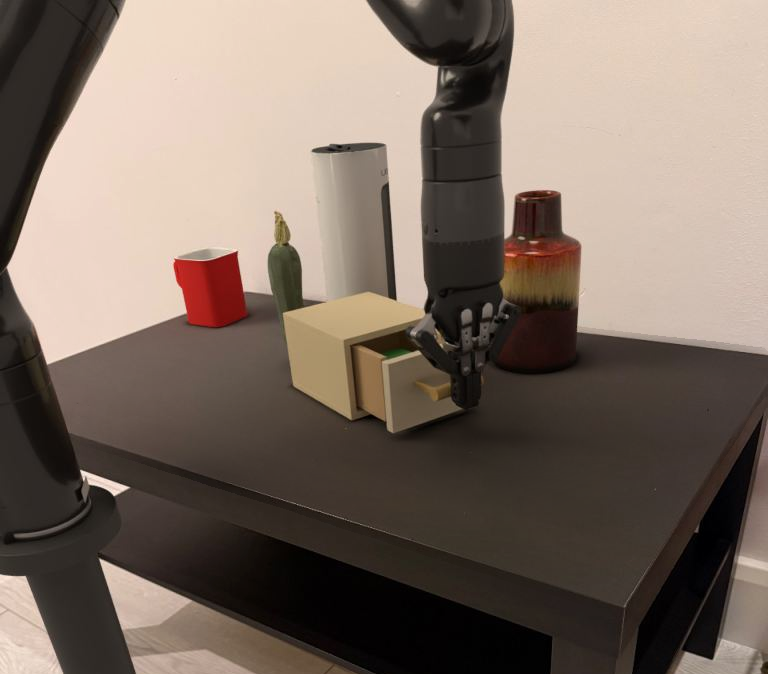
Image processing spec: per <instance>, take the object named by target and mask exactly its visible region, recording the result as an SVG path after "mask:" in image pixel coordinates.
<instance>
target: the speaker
mask: <svg viewBox="0 0 768 674" xmlns="http://www.w3.org/2000/svg"><path fill="white" fill-rule="evenodd" d="M387 148H388V147H387V144H386V143H384V142H366V141H365V142H351V143H340V144H339V143H330V144H328V145H326V146H319V147H315V148H312V149H311V150H310V157H311V165H312V175H313V176H312V177H313V182H314V193H315V203H316V210H317V212H316V213H317V220H318V230H319V239H320V249H321V256H322V257H321V258H322V266H323V275H324V283H325V293H326V302H329V301H333V300H337V299H341V298H345V297H349V296H353V295H357V294H361V293H365V292H372V293H375V294H378V295H381V296H383V297H386V298H389V299H392V300H395V301H398V299H397V298H398V297H397V295H398V294H397V283H396V265H395V254H394V253H395V251H394V237H393V224H392V221H393V220H392V209H391V208H392V207H391V195H390V193H391V192H390V180H389V166H388V150H387Z"/></svg>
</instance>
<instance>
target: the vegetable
mask: <svg viewBox="0 0 768 674" xmlns="http://www.w3.org/2000/svg"><path fill="white" fill-rule="evenodd" d="M273 212H274V213H273V214H274V215H275V216H274V230H273V236H274V241H275V244H273V246H271V248H270V250H269V252H268V254H267V273H268V279H269V284H270V290H271V294H272V296H273V299H274V302H275V306H276V310H277V314H278V318H279V322H280V328H281V333H282V336H283V340H284V343H285V345H286V348H287V349H288V346H287V339H286V332H285V325H284V318H283V313H285V312H289V311H293V310H297V309H301V308H305V305H304V301H303V298H304V297H303V268H302V267H303V266H302V261H301V257H300V254H299V252H298V250H297V249H296V248H295V247H294V246H293V245H291V244H290V240H291V237H292V236H291V231H290V228H289V225H288V224H287V221H286V220H285V219H284V217H283V214H282V213H281V212H279V211H277V210H274V211H273Z"/></svg>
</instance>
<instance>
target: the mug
mask: <svg viewBox="0 0 768 674" xmlns="http://www.w3.org/2000/svg"><path fill="white" fill-rule="evenodd" d="M173 260H174V261H173V264H172V266H173V267H172V268H173V272H174V276H175V281H176V283H177V285H178V286H179V288H180V289H181V291H182V297H183V301H184V306H185V310H186V316H187V320H188V323H189V325H193V326H194V325H195V326H200V327H206V328H207V327H208V328H222V327H226V326H228V325H231V324H232V323H235V322H237V321H240V320H242V319H244V318H246V317H248V310H247V304H246V298H245V291H244V287H243V280H242V273H241V269H240V263H239V249H238V248H230V247H215V246H207V247H200V248H197V249H193V250H191V251H188V252H184V253H181V254H178V255H175V256H174V257H173Z"/></svg>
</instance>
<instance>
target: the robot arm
mask: <svg viewBox="0 0 768 674" xmlns="http://www.w3.org/2000/svg"><path fill="white" fill-rule="evenodd" d="M126 1H127V0H0V537H1V540H2V542H3V544H4V545H7V544H10V543H13V542H19V541H21V542H23V541H35V540H41V539H45V538H49V537H52V536H56V535H58V534H61V533H63V532H66V531H68V530H70V529H72V528H74V527H75V526H77V525H78V524H80V523H81V522H82V521H84V520H85V519H86V518H87V517H88V515H89V514H90V512H91V510H92V503H91V500H90V496H89V495H88V491H89V485H90V484H89V480H88V477H87V476H85V477H84V478H83V475H82V472H81V469H80V464H79V462H78V461H79V460H78V458H77V456H76V452H75V448H74V445H73V443H72V439H71V436H70V434H69V429H68V426H67V423H66V420H65V417H64V413H63V411H62V408H61V407H62V406H61V404H60V402H59V398H58V395H57V392H56V388H55V385H54V382H53V379H52V375H51V372H50V369H49V366H48V363H47V359H46V356H45V354H44V351H43V348H42V347H43V346H42V344H41V341H40V338H39V335H38V332H37V328H36V326H35V323H34V321H33V320H32V318H31V317H30V315H29V313H28V312H27V310H26V309H25V307H24V305H23V303H22V302H21V300H20V298H19V295H18V293H17V291H16V289H15V286H14V284H13V282H12V278H11V275H10V271H9V269H8V266H9V264H10V262H11V261H12V259H13V256H14V254H15V251H16V248H17V246H18V242H19V239H20V237H21V234H22V231H23V228H24V225H25V222H26V218H27V216H28V212H29V209H30V206H31V203H32V201H33V199H34V195H35V192H36V189H37V186H38V183H39V181H40V177H41V174H42V173H43V169H44V167H45V165H46V163H47V160H48V158H49V155H50V153H51V151H52V149H53V147H54V145H55V144H56V141H57V140H58V139H59V136H60V134H61V133H62V131H63V129H64V127H65V125H66V124H67V122H68V120H69V118H70V117H71V115H72V113H73V111H74V109H75V108H76V105H77V103H78V102H79V99H80V98H81V96H82V93H83V92H84V89H85V88H86V85H87V84H88V81H89V79H90V78H91V76H92V74H93V72H94V70H95V69H96V66H97V64H98V63H99V61H100V59H101V58H102V55H103V53H104V51H105V49H106V46H107V45H108V43H109V40H110V38H111V37H112V34H113V32H114V30H115V28H116V26H117V23H118V21H119V19H120V17H121V15H122V12H123V10H124V8H125V4H126ZM365 2H366V4H367V5H368V6H369V8H370V9H371V11H372V12H373V14H374V15H375V16H376V17H377V19H378V20H379V21H380V23H382V25H383V26H384V27H385V28H386V30H387V31H388V32H389V33H390V35H391V36H392V37H393V38H394V39H395V40H396V41H397V43H398V44H399V45H400V46H401V47H403V48H404V49H405V50H406V51H407V52H408V53H410V54H411V55H412V56H413V57H415V58H416V59H418V60H419V61H421V62H423V63H425V64H427V65H428V66H429V65H430V66H433V67H436V68H437V73H436V84H435V85H436V86H435V94H434V98H433V101H432V102H431V103H430V104H429V105H427V107H426V108H425V109H424V111H423V113H422V115H421V118H420V128H419V129H420V131H419V140H420V141H419V143H420V146H419V147H420V165H421V166H420V167H421V168H420V169H421V178H422V179H421V192H420V193H421V194H420V225H421V226H420V227H421V246H422V249H421V250H422V264H423V281H424V284H425V286H426V290H427V296H426V299H427V300H426V299H425V301H426V303H425V302H424V304H425V306H424V305H423V310H424V311H425V316H424V317H423V318H422V319H421V321H420V322H419V323H418V325H417V326H416V327H414V326H409V327H408V328H407V329H406V332H405V334H406V337H407V338H408V339H409V340H410V341H411V342H412V343H413V345H414V346H415V347H416V348H417V349H418V350H419V351H420V352H421V354H422V355H423V356H424V357H425V358H426V359H427V360H428V361H429V363H430V364H431V365H432V366H433V367H434V368H436V369H438V370H441V371H443V372H445V373H448V374H450V381H451V399H452V401H453V402H454V403H455V404H456V406H458V407H460V408H462V409H461V410H464V411H467V410H470V409H473V408H476V407H478V406H479V402H480V400H481V397H482V386H481V375H482V371H483V370H484V369H485V367H486V364H488V363H489V362H493V361H495V360H496V359H497V358H498V356H499V354H500V352H501V350H502V349H503V347H504V345H505V343H506V341H507V339H508V337H509V335H510V333H511V331H512V329H513V328H514V326H515V324H516V322H517V320H518V318H519V316H520V314H521V307H520V306H517V305H515V304H512V303H509V302H508V301H507V300H505V299H504V298H503V290H502V288H501V285H500V281H501V280H502V279H503V277H504V238H505V219H506V217H505V213H506V212H505V209H506V208H505V207H506V206H505V193H504V187H503V186H504V185H503V174H502V172H503V140H502V139H503V134H502V132H503V131H502V115H503V108H504V104H505V103H504V102H505V99H506V95H507V89H508V84H509V76H510V70H511V64H512V58H513V50H514V42H515V41H514V40H515V11H514V5H513V0H365ZM435 328H436V329H437V331H438V332H439V333H440V334H441V340H442V346H443V348H444V349H445V350H444V349H443V348H442V347H441V346H440V345H439V343H438V342H437V341H436V340H437V339H438V335H437V333H436V331H435ZM494 337H495V338H494ZM493 338H494V340H493V342H492V339H493ZM445 351H446V352H445Z"/></svg>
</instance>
